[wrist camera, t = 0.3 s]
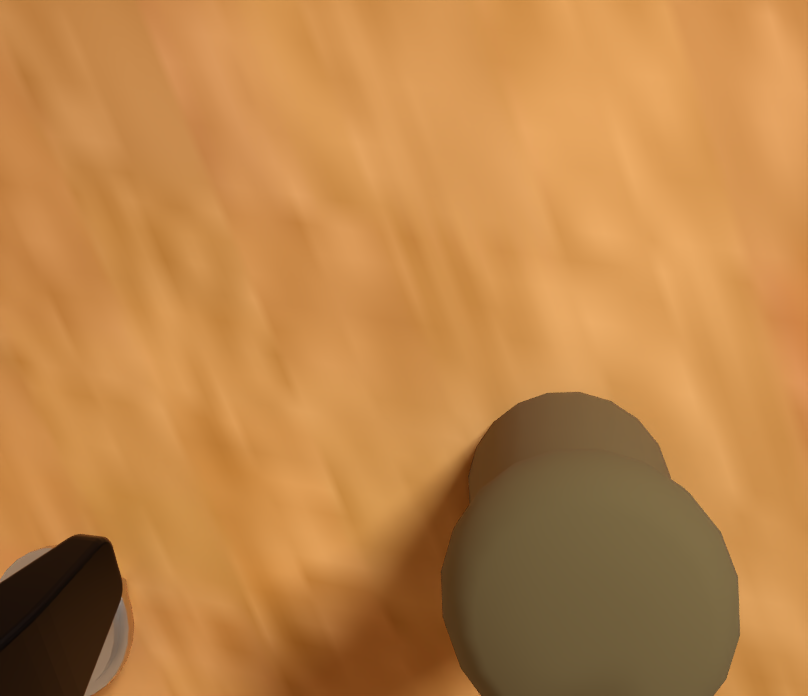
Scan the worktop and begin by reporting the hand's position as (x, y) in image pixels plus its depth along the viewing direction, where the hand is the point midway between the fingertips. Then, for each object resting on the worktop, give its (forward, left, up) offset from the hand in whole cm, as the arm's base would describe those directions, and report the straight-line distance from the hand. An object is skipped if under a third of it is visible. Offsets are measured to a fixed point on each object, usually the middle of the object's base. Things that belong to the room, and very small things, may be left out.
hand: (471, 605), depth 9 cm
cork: (-2, -1, -15) cm, 15 cm away
